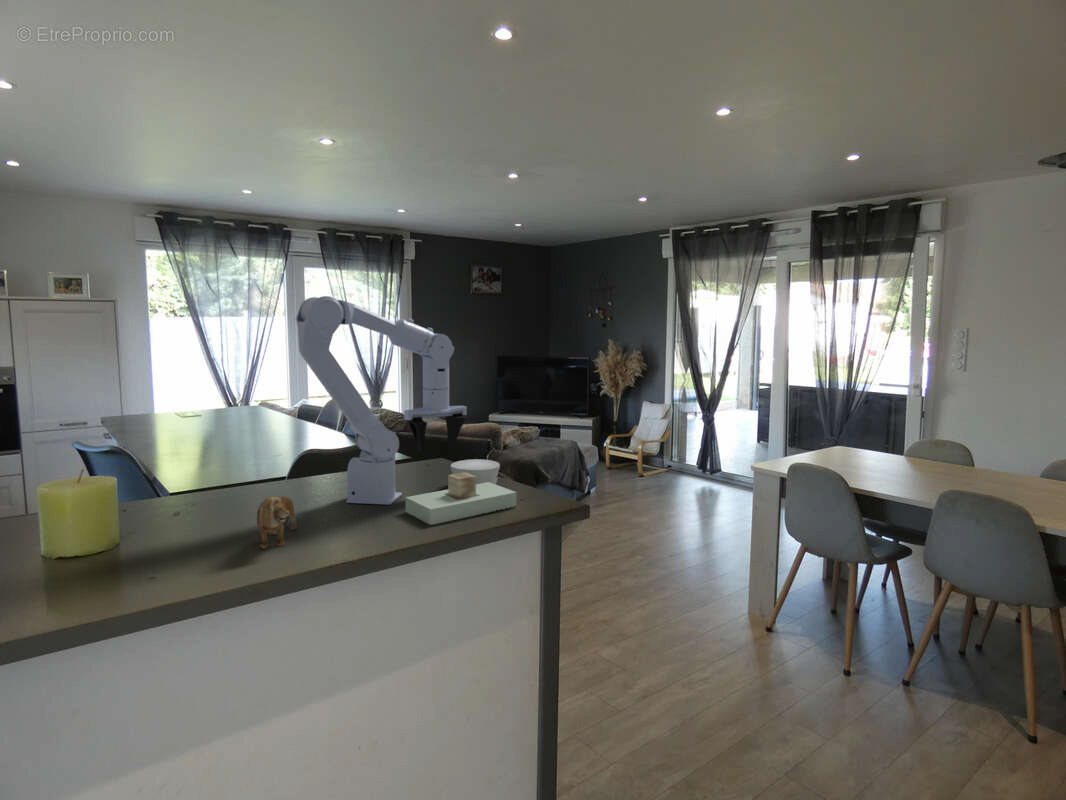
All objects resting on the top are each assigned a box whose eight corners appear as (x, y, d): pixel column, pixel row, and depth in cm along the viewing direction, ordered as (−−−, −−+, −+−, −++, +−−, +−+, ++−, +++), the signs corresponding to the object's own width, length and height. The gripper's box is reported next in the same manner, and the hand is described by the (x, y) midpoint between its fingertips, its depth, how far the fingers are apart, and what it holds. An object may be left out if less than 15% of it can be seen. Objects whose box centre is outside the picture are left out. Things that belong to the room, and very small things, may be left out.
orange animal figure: (289, 553, 101) (288, 499, 100) (254, 556, 100) (252, 501, 98) (299, 524, 115) (297, 477, 114) (268, 526, 114) (266, 478, 113)
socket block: (430, 525, 116) (430, 509, 115) (405, 511, 123) (405, 497, 123) (516, 506, 128) (516, 492, 128) (488, 495, 136) (488, 482, 135)
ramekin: (445, 482, 147) (445, 460, 146) (490, 478, 151) (490, 457, 150) (458, 495, 136) (458, 471, 136) (506, 490, 141) (506, 467, 140)
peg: (459, 513, 123) (458, 479, 122) (448, 508, 126) (448, 475, 125) (475, 510, 125) (475, 476, 125) (465, 505, 128) (465, 472, 128)
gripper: (414, 392, 129) (415, 456, 130) (474, 388, 137) (473, 448, 139) (399, 388, 134) (400, 450, 136) (457, 385, 143) (457, 443, 145)
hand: (436, 449), depth 138 cm, fingers open, 7 cm apart
